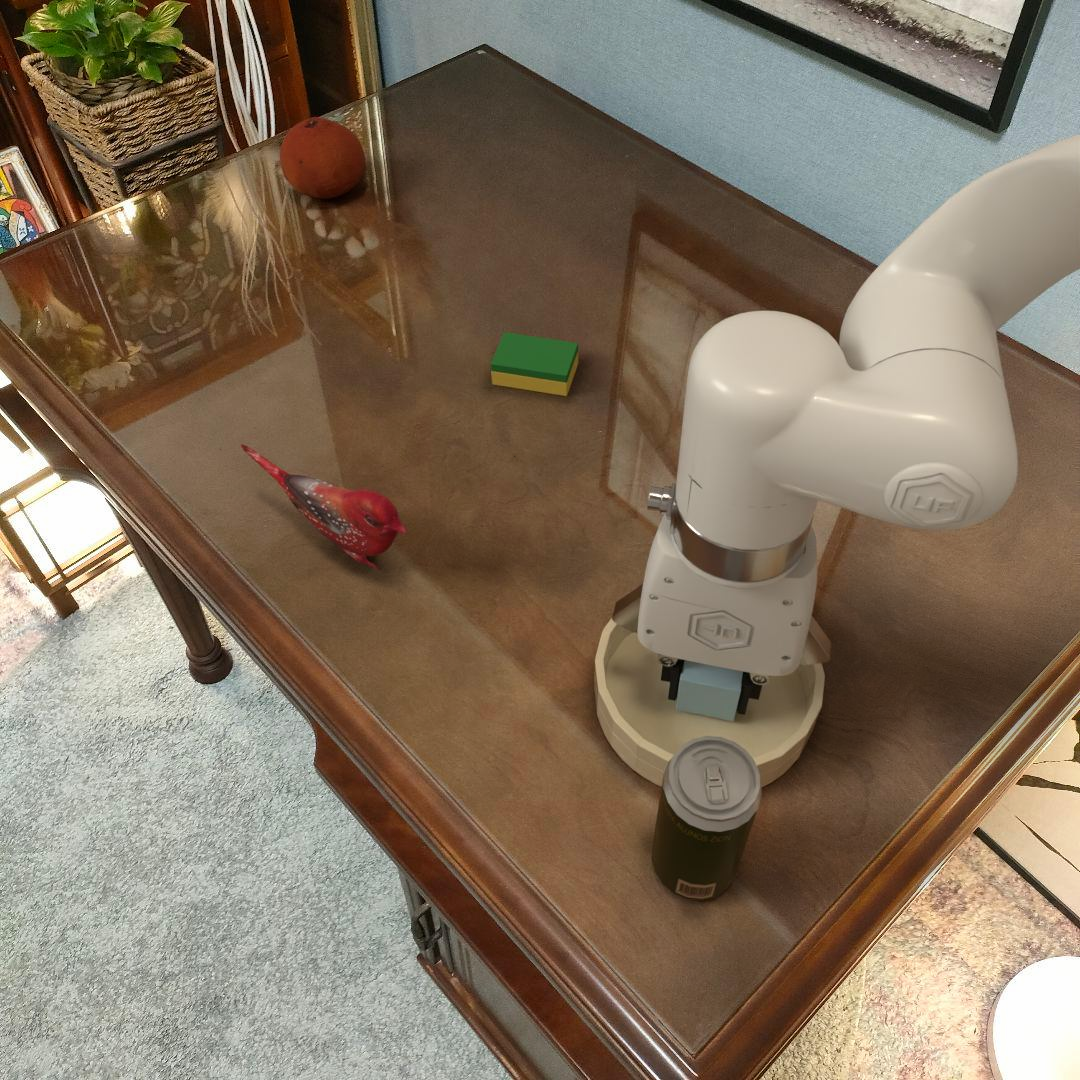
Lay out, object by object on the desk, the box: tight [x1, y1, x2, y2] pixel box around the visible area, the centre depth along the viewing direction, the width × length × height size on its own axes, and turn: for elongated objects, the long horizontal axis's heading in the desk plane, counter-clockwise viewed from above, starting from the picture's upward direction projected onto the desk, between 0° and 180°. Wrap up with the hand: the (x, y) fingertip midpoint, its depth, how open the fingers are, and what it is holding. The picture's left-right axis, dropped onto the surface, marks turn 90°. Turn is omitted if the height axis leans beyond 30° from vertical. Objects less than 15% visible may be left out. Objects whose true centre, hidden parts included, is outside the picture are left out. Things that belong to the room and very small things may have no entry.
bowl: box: [593, 617, 826, 789], centre depth 70 cm, size 15×15×4 cm
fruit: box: [279, 116, 367, 200], centre depth 110 cm, size 9×9×8 cm
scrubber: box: [490, 331, 579, 397], centre depth 92 cm, size 7×4×2 cm, turn 76°
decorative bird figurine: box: [240, 444, 408, 571], centre depth 77 cm, size 3×18×10 cm, turn 53°
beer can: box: [651, 736, 763, 902], centre depth 60 cm, size 5×5×12 cm
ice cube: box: [676, 660, 743, 721], centre depth 69 cm, size 4×4×4 cm
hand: (709, 688), depth 71 cm, fingers closed on ice cube, 4 cm apart
